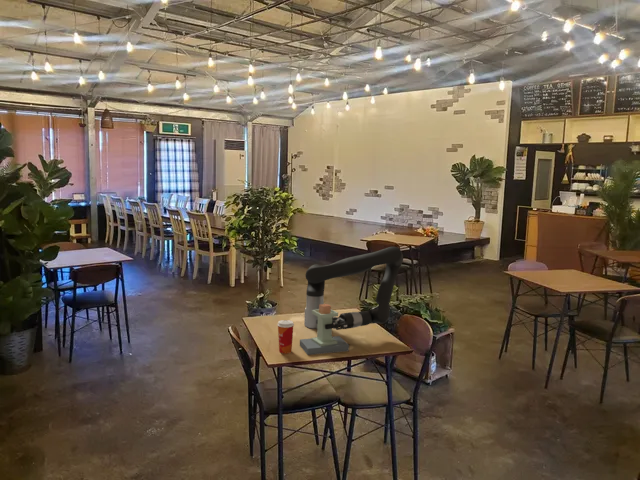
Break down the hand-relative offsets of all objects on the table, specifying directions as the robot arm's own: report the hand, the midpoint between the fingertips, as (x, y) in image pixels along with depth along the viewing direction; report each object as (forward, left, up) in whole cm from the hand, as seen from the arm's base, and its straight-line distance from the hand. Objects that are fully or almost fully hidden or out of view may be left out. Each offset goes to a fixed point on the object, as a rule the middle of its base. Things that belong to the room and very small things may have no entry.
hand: (320, 324), depth 235 cm
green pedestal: (+1, +2, -9) cm, 9 cm away
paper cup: (-10, -13, -12) cm, 21 cm away
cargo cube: (+1, +2, +5) cm, 5 cm away
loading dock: (+1, +2, -12) cm, 12 cm away
